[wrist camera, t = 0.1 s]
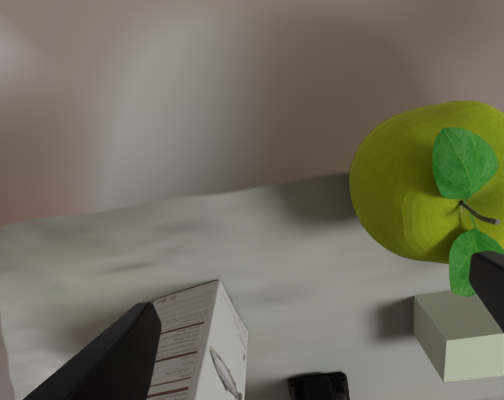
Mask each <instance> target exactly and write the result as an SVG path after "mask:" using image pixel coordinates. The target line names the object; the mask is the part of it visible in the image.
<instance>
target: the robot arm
mask: <svg viewBox="0 0 504 400" xmlns="http://www.w3.org/2000/svg"><path fill="white" fill-rule="evenodd" d="M469 282H470V285H471V287H472V288H473V290H474V291H475V293H476V294H477V295H478V297H479V298H480V300H481V301H482V303H483V304H484V305H485V307H486V308H487V310H488V311H489V313H490V314H491V315H492V317H493V318H494V320H495V321H496V323H497V324H498V325H499V327H500V328H501V330H502V331H503V333H504V254H501V253H498V252H494V251H482V252H476V253H473V254H472V256H471V260H470V269H469ZM161 329H162V324H161V320H160V318H159V316H158V314H157V311H156V309H155V307H154V305H153V303H151V302H143V303H138V304H136V305H135V306H133V307H132V308H131V309H130V310H129V311H128V312H126V313H125V314H124V315H123V316H122V317H120V318H119V319H118V320H117V321H116V322H114V323H113V324H112V325H111V326H110V327H108V328H107V329H106V330H105V331H104V332H103V333H101V334H100V335H99V336H98V337H97V338H95V339H94V340H93V341H92V342H91V343H89V344H88V345H87V346H86V347H85V348H83V349H82V350H81V351H80V352H79V353H77V354H76V355H75V356H74V357H73V358H72V359H70V360H69V361H68V362H67V363H66V364H64V365H63V366H62V367H61V368H60V369H58V370H57V371H56V372H55V373H54V374H52V375H51V376H50V377H49V378H48V379H47V380H45V381H44V382H43V383H42V384H41V385H39V386H38V387H37V388H36V389H35V390H33V391H32V392H31V393H30V394H29V395H27V396H26V397H25V398H24V399H23V400H146V399H147V396H148V392H149V388H150V385H151V381H152V376H153V371H154V366H155V361H156V356H157V351H158V345H159V340H160V335H161ZM288 388H289V392H290V396H291V400H350V398H349V390H348V382H347V377H346V374H344V373H337V374H328V375H320V376H311V377H303V378H294V379H289V380H288Z"/></svg>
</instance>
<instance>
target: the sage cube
mask: <svg viewBox="0 0 504 400" xmlns="http://www.w3.org/2000/svg"><path fill="white" fill-rule="evenodd" d="M414 335H415V337H416V338H417V340H418V341H419V343H420V345H421V346H422V348H423V350H424V351H425V353H426V354H427V356H428V358H429V359H430V361H431V363H432V364H433V366H434V367H435V369H436V371H437V372H438V374H439V375H440V377H441V379H442V380H443V382H450V381H459V380H467V379H476V378H485V377H494V376H503V375H504V333H503V331H502V330H501V328H500V327H499V325H498V324H497V323H496V321H495V320H494V318H493V317H492V315H491V314H490V313H489V311H488V310H487V308H486V307H485V305H484V304H483V303H482V301H481V300H480V298H479V297H478V295H477V294H476V295H473V296H469V297H466V296H461V295H457V294H455V293H453V292H452V290H451V291H444V292H437V293H430V294H423V295H416V296H414Z"/></svg>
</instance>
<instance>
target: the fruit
mask: <svg viewBox="0 0 504 400" xmlns="http://www.w3.org/2000/svg"><path fill="white" fill-rule="evenodd" d="M349 187H350V195H351V200H352V203H353V207H354V210H355V212H356V215H357V217H358V219H359V220H360V222H361V224H362V226H363V227H364V228H365V230H366V231H367V232H368V233H369V235H370V236H371V237H372V238H373V239H375V240H376V241H377V242H378V243H379V244H381V245H382V246H383V247H385V248H386V249H387V250H389V251H391V252H393V253H395V254H397V255H399V256H402V257H405V258H409V259H413V260H419V261H430V262H437V263H445V264H449V276H450V286H451V290H452V292H453V293H455V294H457V295H461V296H466V297H469V296H473V295H476V293H475V291H474V290H473V288H472V287H471V285H470V282H469V269H470V260H471V256H472V254H473V253H476V252H482V251H494V252H498V253H501V254H504V113H503V112H501V111H499V110H497V109H496V108H494V107H492V106H490V105H487V104H485V103H481V102H475V101H453V102H446V103H440V104H434V105H429V106H425V107H420V108H416V109H413V110H409V111H406V112H403V113H400V114H398V115H395V116H393V117H391V118H389V119H387V120H385V121H384V122H382V123H381V124H380V125H378V126H377V127H376V128H375V129H374V130H372V131H371V132H370V133H369V134H368V135H367V136H366V138H365V139H364V140H363V142H362V143H361V145H360V146H359V148H358V150H357V152H356V153H355V156H354V158H353V161H352V164H351V167H350V173H349Z"/></svg>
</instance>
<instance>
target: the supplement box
mask: <svg viewBox="0 0 504 400" xmlns="http://www.w3.org/2000/svg"><path fill="white" fill-rule="evenodd" d="M153 305H154V307H155V309H156V311H157V314H158V316H159V318H160V320H161V324H162V329H161V335H160V340H159V345H158V351H157V356H156V361H155V366H154V371H153V376H152V381H151V385H150V388H149V392H148V396H147V399H146V400H244V398H245V379H246V362H247V342H248V331H247V329H246V328H245V326H244V325H243V323H242V321H241V320H240V318H239V316H238V314H237V313H236V311H235V309H234V307H233V305H232V303H231V301H230V299H229V297H228V295H227V293H226V291H225V289H224V287H223V285H222V283H221V281H220V280H218V281H214V282H210V283H207V284H204V285H200V286H197V287H194V288H191V289H188V290H184V291H181V292H178V293H175V294H171V295H168V296H165V297H162V298H159V299H156V300H155V301H154V303H153Z"/></svg>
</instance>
